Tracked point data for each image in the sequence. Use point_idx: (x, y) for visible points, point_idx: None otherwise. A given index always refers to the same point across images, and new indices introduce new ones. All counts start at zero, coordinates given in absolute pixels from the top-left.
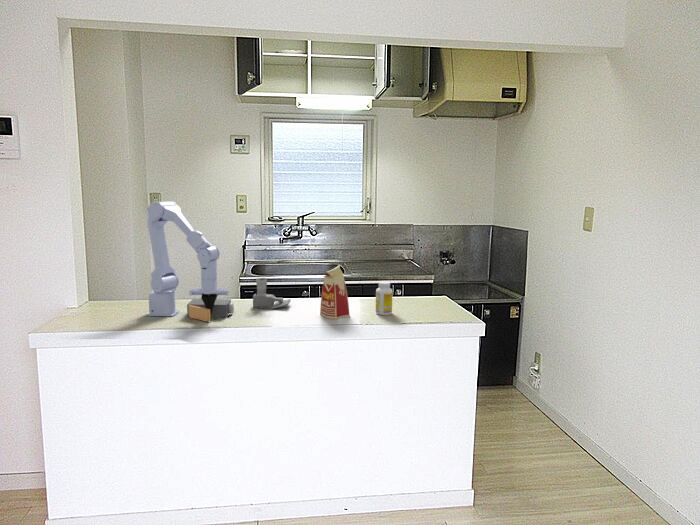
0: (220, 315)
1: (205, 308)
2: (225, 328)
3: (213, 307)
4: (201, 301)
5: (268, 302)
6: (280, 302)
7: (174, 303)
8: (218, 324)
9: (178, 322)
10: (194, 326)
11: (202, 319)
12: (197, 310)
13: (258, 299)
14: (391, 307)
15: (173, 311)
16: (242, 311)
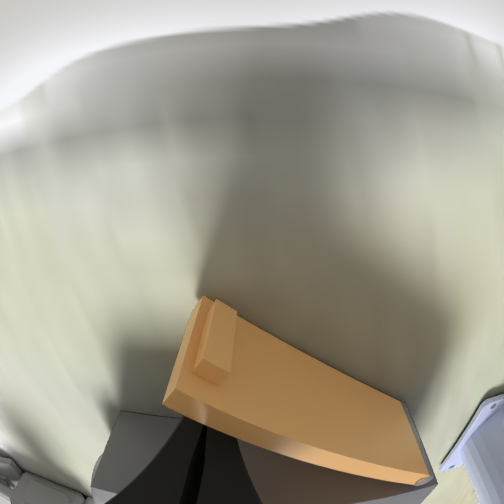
0: (160, 427)
1: (243, 438)
2: (13, 117)
3: None
4: None
5: (25, 490)
6: (3, 480)
7: (488, 478)
8: (95, 235)
9: (474, 286)
10: (325, 151)
11: (281, 345)
12: (347, 431)
13: None
14: None
15: (481, 436)
16: None
